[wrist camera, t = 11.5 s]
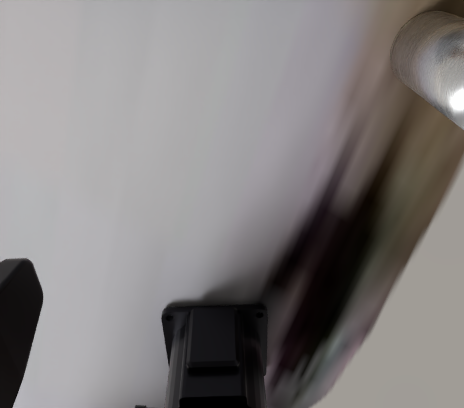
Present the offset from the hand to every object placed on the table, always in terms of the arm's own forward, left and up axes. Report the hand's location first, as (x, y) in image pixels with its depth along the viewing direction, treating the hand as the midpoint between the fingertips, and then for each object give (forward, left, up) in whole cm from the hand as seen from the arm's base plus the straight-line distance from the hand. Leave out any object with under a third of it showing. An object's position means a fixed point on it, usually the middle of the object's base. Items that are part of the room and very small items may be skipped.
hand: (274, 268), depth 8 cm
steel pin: (+1, -8, -13) cm, 15 cm away
